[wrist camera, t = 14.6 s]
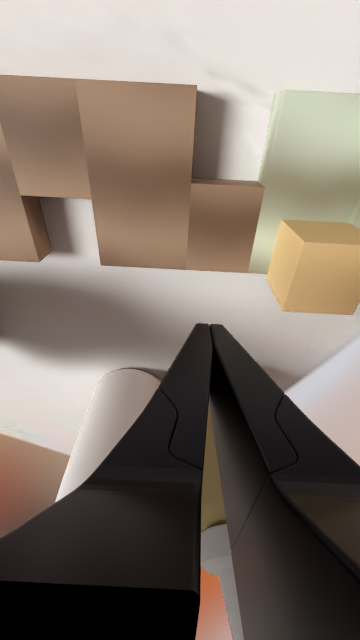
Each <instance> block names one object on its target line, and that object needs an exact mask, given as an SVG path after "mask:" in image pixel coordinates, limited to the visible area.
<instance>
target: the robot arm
mask: <svg viewBox="0 0 360 640" xmlns="http://www.w3.org/2000/svg"><path fill="white" fill-rule="evenodd" d="M208 407H210V414H211V421H212V428H213V434H214V441H215V448H216V455H217V461H218V468H219V475H220V482H221V488H222V495H223V502H224V509H225V515H226V522H227V529H228V536H229V542H230V549H231V551H232V552H231V556H232V563H233V570H234V577H235V583H236V590H237V597H238V603H239V610H240V617H241V624H242V630H243V637H244V640H360V466H359V465H358V464H357V463H356V462H355V461H354V460H352V459H351V458H350V457H349V456H348V455H347V454H346V453H345V452H344V451H343V450H342V449H341V448H339V447H338V446H337V445H336V444H335V443H334V442H333V441H332V440H330V438H328V437H327V436H326V435H325V434H324V433H323V432H322V431H321V430H320V429H319V428H318V427H317V426H316V425H315V424H314V423H313V422H312V421H311V420H309V419H308V417H307V416H306V415H305V414H304V413H303V412H302V411H301V410H300V409H299V408H298V407H297V406H296V405H295V404H294V403H293V402H292V401H291V399H290V398H289V397H288V396H287V395H284V392H283V391H282V390H281V389H280V388H279V386H278V385H277V384H276V383H275V382H274V381H273V380H272V379H271V378H270V377H269V376H268V374H267V373H266V372H265V371H264V370H263V369H262V368H261V367H260V366H259V365H258V363H257V362H256V361H255V360H254V359H253V358H252V357H251V356H250V355H249V354H248V353H247V351H246V350H245V349H244V348H243V347H242V346H241V345H240V344H239V343H238V342H237V340H236V339H235V338H234V337H233V336H232V335H231V334H230V333H229V332H228V331H227V330H226V328H225V327H224V326H223V325H221V324H210V325H208V324H202V323H197V324H196V325H195V327H194V328H193V330H192V332H191V333H190V335H189V337H188V338H187V340H186V342H185V343H184V345H183V347H182V348H181V350H180V352H179V353H178V355H177V356H176V358H175V360H174V361H173V363H172V365H171V366H170V368H169V370H168V371H167V373H166V375H165V376H164V378H163V380H162V381H161V383H160V385H159V386H158V388H157V389H156V391H155V393H154V394H153V396H152V398H151V399H150V401H149V402H148V404H147V405H146V407H145V408H144V410H143V411H142V413H141V414H140V415H139V417H138V418H137V419H136V420H135V422H134V423H133V424H132V426H131V427H130V428H129V429H128V431H127V432H126V433H125V434H124V436H123V437H122V438H121V439H120V440H119V442H118V443H117V444H116V445H115V447H114V448H113V449H112V450H111V451H110V453H109V454H108V455H107V456H106V458H105V459H104V460H103V461H102V462H101V464H100V465H99V466H98V467H97V468H96V470H95V471H94V472H93V473H92V474H91V475H90V476H89V477H88V478H87V479H86V480H85V481H84V482H83V483H82V484H81V485H80V486H78V487H77V488H76V489H75V490H73V491H72V492H71V493H69V494H67V495H66V496H64V497H63V498H61V499H60V500H58V501H57V502H55V503H54V504H52V505H51V506H49V507H47V508H46V509H44V510H43V511H41V512H40V513H38V514H37V515H35V516H34V517H32V518H30V519H29V520H27V521H26V522H24V523H23V524H21V525H20V526H18V527H17V528H15V529H13V530H12V531H11V532H9V533H8V534H6V535H5V536H3V537H1V538H0V640H195V637H196V630H197V629H196V628H197V622H198V614H199V607H200V574H201V572H200V571H201V568H200V567H201V501H202V483H203V469H204V457H205V444H206V432H207V419H208Z"/></svg>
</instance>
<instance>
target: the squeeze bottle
mask: <svg viewBox="0 0 360 640" xmlns="http://www.w3.org/2000/svg"><path fill="white" fill-rule="evenodd" d="M201 532H202V534H201V567H202V568H203V570H204V571H205V572H207V573H210V574H212V575H217V576H219V580H220V584H221V589H222V593H223V598H224V602H225V607H226V611H227V616H228V620H229V625H230V629H231V634H232V638H233V640H244V637H243V630H242V624H241V617H240V610H239V603H238V597H237V590H236V583H235V577H234V570H233V563H232V556H231V552H232V551H231V549H230V542H229V536H228V529H227V522H226V515H225V509H224V502H223V495H222V488H221V482H220V475H219V468H218V461H217V455H216V448H215V441H214V434H213V428H212V421H211V414H210V407H208V419H207V432H206V444H205V457H204V469H203V483H202V501H201Z"/></svg>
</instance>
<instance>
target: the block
mask: <svg viewBox="0 0 360 640" xmlns="http://www.w3.org/2000/svg"><path fill="white" fill-rule="evenodd" d="M266 280H267V282H268V284H269V286H270V288H271V289H272V291H273V293H274V295H275V297H276V299H277V301H278V303H279V305H280V307H281V309H282V311H286V312H306V313H325V314H344V315H353V314H354V312H355V310H356V308H357V306H358V304H359V302H360V230H359V229H357V228H356V227H354V226H352V225H351V224H349V223H342V222H322V221H303V220H284V219H281V223H280V227H279V231H278V235H277V239H276V243H275V247H274V251H273V255H272V259H271V262H270V266H269V270H268V274H267V278H266Z"/></svg>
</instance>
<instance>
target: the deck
mask: <svg viewBox="0 0 360 640" xmlns="http://www.w3.org/2000/svg"><path fill="white" fill-rule="evenodd" d="M196 95H197V85H184V84H165V83H146V82H127V81H108V80H89V79H70V78H51V77H32V76H13V75H0V260H8V261H27V262H40V261H41V260H42V259H43V258H45V257H46V256H47V255H48V254H49V253H50V252H51V247H50V243H49V239H48V234H47V230H46V226H45V222H44V218H43V214H42V210H41V206H40V202H39V198H38V196H44V197H63V198H82V199H92V205H93V212H94V219H95V226H96V234H97V241H98V248H99V255H100V262H101V265H104V266H123V267H143V268H162V269H181V270H200V271H220V272H239V273H258V274H268V270H269V266H270V262H271V259H272V255H273V251H274V247H275V243H276V239H277V235H278V231H279V227H280V223H281V219H284V220H303V221H322V222H342V223H349V224H351V225H352V226H354V227H356V228H357V229H359V230H360V94H355V93H336V92H317V91H298V90H284V91H281V92H279V93H276V94H275V95H274V100H273V105H272V110H271V116H270V121H269V126H268V131H267V137H266V142H265V147H264V152H263V158H262V163H261V168H260V173H259V179H258V182H255V181H236V180H217V179H198V178H192V161H193V145H194V128H195V111H196Z"/></svg>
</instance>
